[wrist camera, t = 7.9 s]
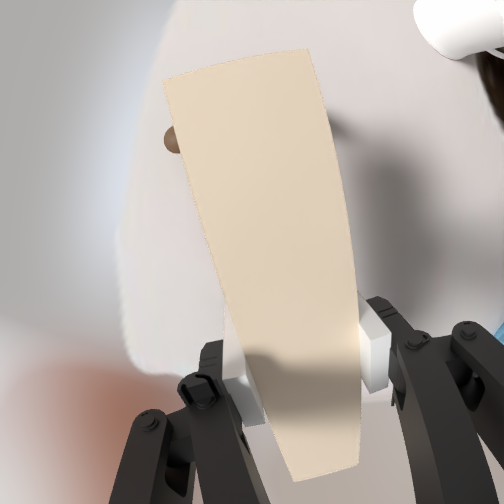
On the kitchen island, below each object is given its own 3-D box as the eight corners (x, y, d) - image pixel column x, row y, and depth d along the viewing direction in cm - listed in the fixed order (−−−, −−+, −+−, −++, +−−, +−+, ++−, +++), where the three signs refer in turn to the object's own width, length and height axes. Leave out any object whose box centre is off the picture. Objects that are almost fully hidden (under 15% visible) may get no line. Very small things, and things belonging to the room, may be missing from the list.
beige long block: (192, 111, 12) (162, 80, 6) (276, 91, 12) (307, 48, 6) (281, 414, 19) (293, 482, 13) (334, 400, 19) (358, 464, 13)
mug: (486, 49, 20) (550, 37, 8) (476, 91, 22) (550, 87, 11) (421, -13, 17) (479, -48, 6) (405, 25, 20) (475, -12, 8)
